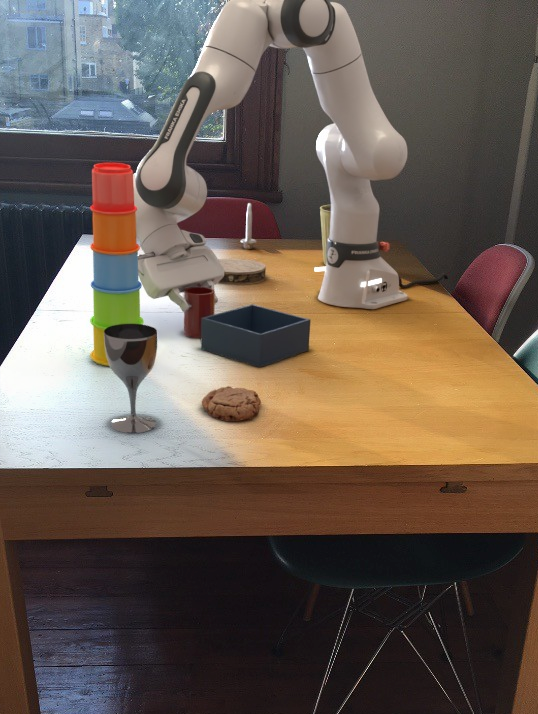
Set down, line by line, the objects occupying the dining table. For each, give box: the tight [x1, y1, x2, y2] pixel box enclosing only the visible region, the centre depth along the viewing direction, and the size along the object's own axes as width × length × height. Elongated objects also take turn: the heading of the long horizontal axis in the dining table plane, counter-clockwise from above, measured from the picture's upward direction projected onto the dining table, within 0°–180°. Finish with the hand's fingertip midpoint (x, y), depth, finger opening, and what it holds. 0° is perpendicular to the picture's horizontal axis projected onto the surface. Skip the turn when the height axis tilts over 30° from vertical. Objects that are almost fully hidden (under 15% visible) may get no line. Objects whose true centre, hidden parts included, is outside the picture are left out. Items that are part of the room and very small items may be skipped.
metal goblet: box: [104, 324, 158, 434], centre depth 135 cm, size 8×8×15 cm
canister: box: [183, 287, 216, 339], centre depth 180 cm, size 6×6×9 cm
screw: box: [239, 202, 258, 250], centre depth 257 cm, size 13×5×5 cm
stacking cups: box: [89, 162, 145, 367], centre depth 158 cm, size 10×10×35 cm
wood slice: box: [217, 258, 267, 285], centre depth 227 cm, size 16×16×3 cm
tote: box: [200, 303, 312, 368], centre depth 172 cm, size 15×15×6 cm
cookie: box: [201, 385, 262, 422], centre depth 144 cm, size 10×11×3 cm
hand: (201, 306), depth 179 cm, fingers closed on canister, 6 cm apart
